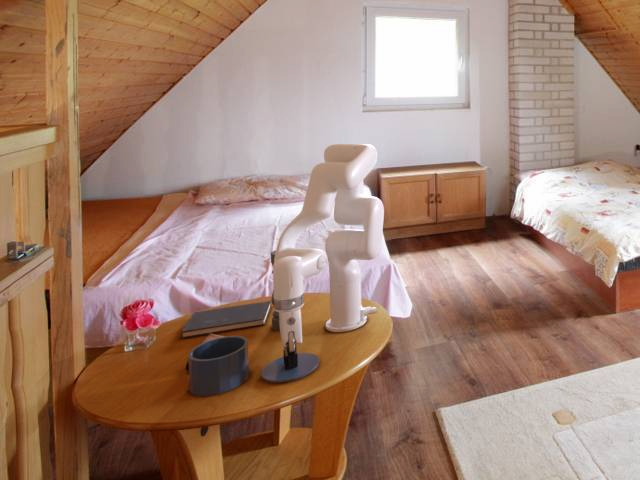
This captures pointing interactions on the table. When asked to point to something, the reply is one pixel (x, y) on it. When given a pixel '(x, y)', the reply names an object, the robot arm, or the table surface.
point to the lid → (279, 374)
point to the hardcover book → (226, 319)
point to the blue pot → (218, 365)
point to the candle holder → (275, 314)
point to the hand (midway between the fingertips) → (290, 364)
